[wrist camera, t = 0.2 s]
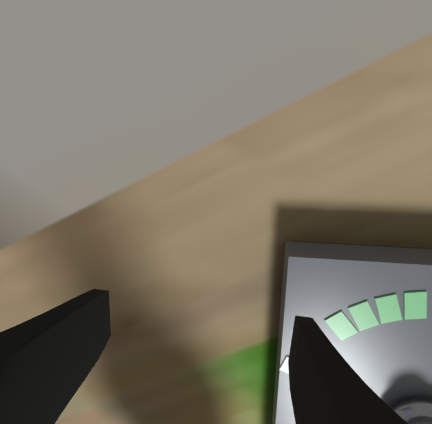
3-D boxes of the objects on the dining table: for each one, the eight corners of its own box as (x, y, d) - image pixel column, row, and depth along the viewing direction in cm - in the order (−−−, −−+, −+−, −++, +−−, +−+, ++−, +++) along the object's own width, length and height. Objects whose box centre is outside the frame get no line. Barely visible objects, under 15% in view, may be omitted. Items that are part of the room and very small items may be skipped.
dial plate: (475, 475, 24) (500, 516, 21) (269, 446, 26) (270, 480, 23) (553, 255, 18) (598, 275, 16) (284, 241, 20) (288, 257, 18)
